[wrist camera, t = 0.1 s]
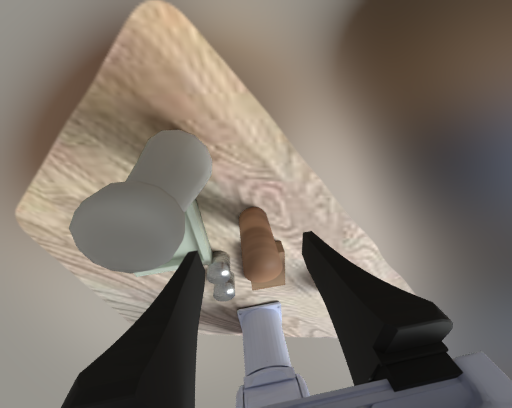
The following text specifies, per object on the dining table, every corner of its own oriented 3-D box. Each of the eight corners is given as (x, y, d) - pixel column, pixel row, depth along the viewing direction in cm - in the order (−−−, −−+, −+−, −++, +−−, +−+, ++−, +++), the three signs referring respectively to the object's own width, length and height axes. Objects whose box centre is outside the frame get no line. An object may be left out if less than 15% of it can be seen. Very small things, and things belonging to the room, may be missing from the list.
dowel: (267, 227, 25) (282, 278, 18) (240, 232, 24) (246, 285, 18) (265, 205, 23) (282, 252, 16) (236, 209, 23) (240, 259, 16)
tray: (212, 253, 26) (211, 264, 24) (142, 265, 25) (136, 276, 24) (193, 193, 21) (191, 201, 19) (105, 206, 20) (95, 215, 19)
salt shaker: (163, 185, 20) (80, 301, 9) (143, 128, 17) (-19, 193, 6) (218, 179, 20) (206, 283, 9) (209, 123, 17) (175, 175, 6)
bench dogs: (235, 281, 29) (236, 299, 27) (216, 284, 29) (215, 302, 27) (228, 249, 26) (228, 266, 23) (206, 253, 25) (204, 271, 23)
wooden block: (281, 271, 30) (285, 284, 28) (250, 276, 30) (252, 290, 28) (279, 239, 26) (284, 251, 24) (245, 244, 26) (247, 258, 24)
